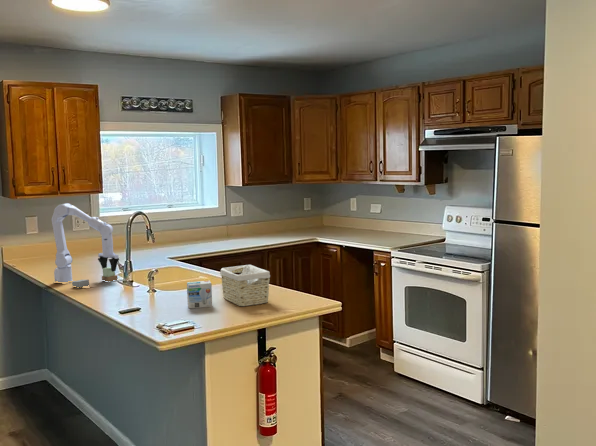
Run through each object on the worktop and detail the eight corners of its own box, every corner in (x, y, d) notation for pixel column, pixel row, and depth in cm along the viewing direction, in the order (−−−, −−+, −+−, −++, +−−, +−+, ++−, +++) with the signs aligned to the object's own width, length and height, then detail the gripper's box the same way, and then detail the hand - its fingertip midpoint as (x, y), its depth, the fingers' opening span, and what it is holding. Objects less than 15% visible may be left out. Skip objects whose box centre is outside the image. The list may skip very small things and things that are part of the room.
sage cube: (103, 276, 324) (102, 268, 324) (109, 274, 328) (109, 266, 327) (108, 276, 322) (107, 268, 321) (115, 275, 325) (114, 267, 325)
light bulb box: (188, 309, 258) (187, 284, 257) (187, 305, 265) (186, 282, 263) (213, 306, 261) (211, 282, 260) (210, 303, 268) (209, 280, 266)
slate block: (72, 288, 310) (72, 281, 310) (82, 286, 315) (81, 279, 315) (79, 288, 307) (79, 281, 306) (89, 286, 312) (88, 279, 311)
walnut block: (102, 282, 325) (101, 276, 325) (111, 280, 329) (111, 274, 329) (108, 283, 321) (107, 277, 321) (117, 281, 326) (117, 275, 325)
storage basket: (220, 298, 277) (218, 267, 276) (251, 293, 285) (250, 263, 283) (238, 308, 256) (237, 275, 255) (272, 303, 264) (271, 271, 262)
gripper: (122, 246, 322) (123, 270, 324) (105, 244, 330) (106, 268, 332) (111, 247, 317) (113, 272, 318) (94, 246, 325) (96, 270, 326)
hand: (109, 270), depth 325 cm, fingers open, 7 cm apart
